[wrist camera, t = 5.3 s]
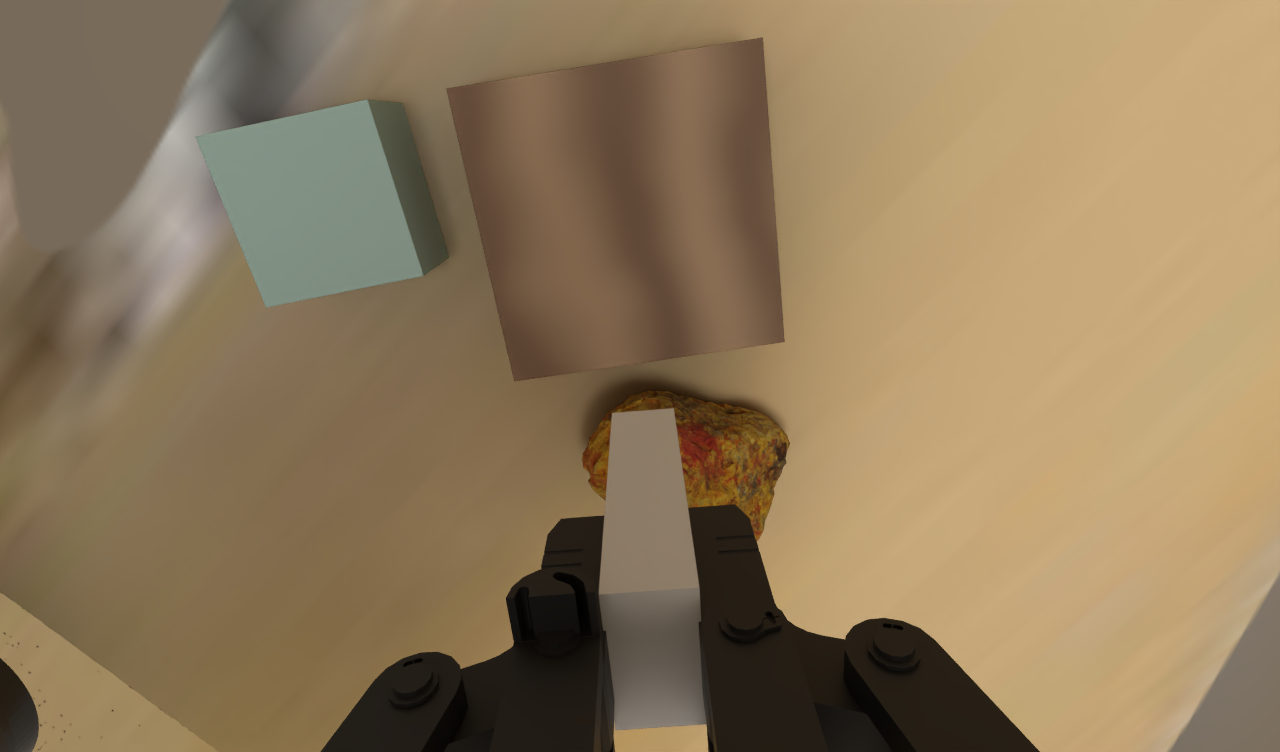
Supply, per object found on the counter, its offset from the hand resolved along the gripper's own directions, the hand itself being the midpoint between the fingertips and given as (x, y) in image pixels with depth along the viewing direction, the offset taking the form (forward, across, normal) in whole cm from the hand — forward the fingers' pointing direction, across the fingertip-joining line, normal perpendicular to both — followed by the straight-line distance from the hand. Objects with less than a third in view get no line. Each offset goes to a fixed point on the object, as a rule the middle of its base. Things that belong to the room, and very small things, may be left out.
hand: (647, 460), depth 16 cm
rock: (+22, -2, -9) cm, 24 cm away
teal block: (+22, -15, +5) cm, 27 cm away
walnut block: (+22, 0, +3) cm, 23 cm away
